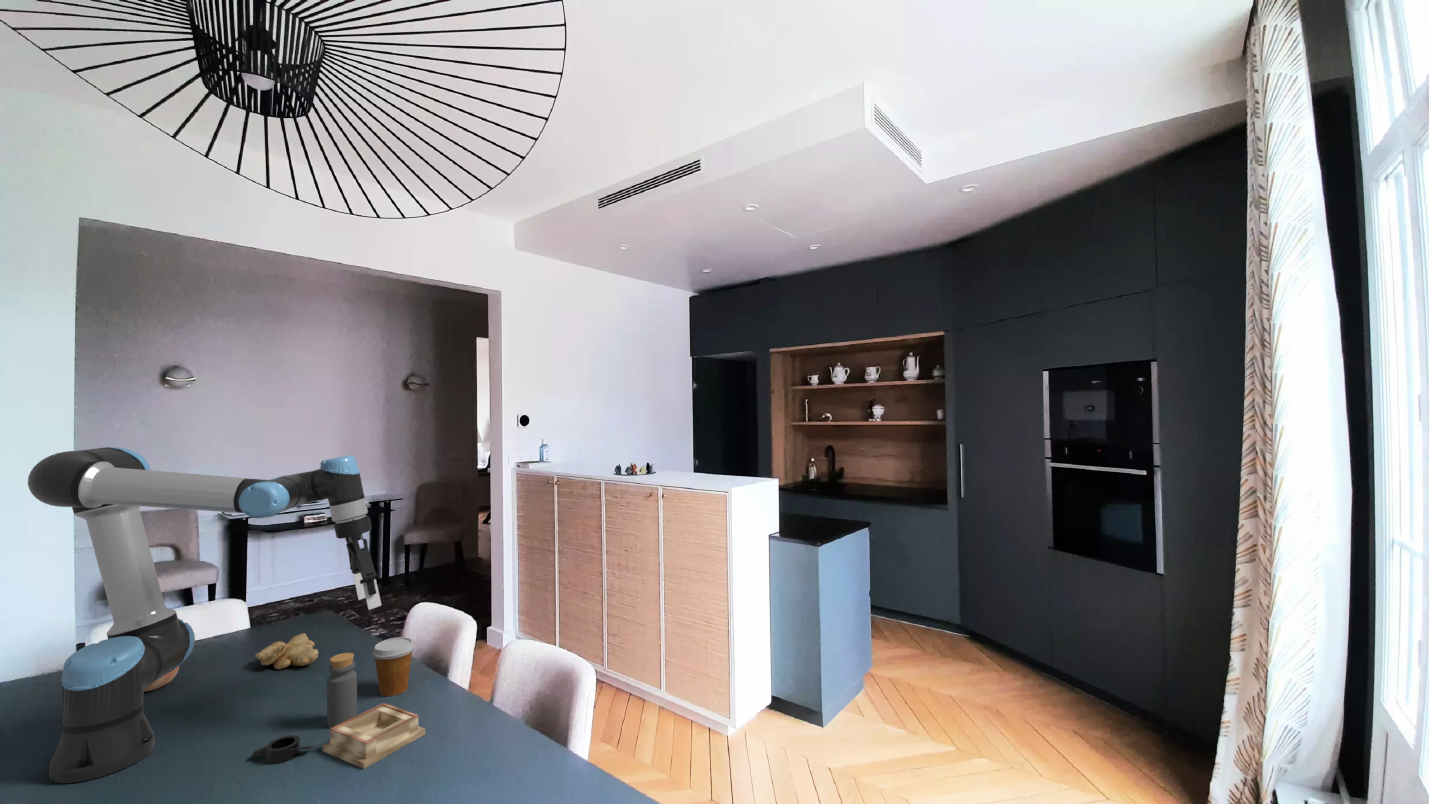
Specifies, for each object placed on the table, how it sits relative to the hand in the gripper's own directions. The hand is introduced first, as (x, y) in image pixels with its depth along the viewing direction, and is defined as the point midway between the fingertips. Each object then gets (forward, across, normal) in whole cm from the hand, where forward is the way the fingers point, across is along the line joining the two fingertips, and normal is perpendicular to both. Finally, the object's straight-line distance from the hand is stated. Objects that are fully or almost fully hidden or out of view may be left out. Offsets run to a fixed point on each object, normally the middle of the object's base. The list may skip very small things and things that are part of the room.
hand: (369, 602), depth 145 cm
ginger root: (+19, +42, +17) cm, 49 cm away
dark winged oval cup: (+23, -11, +22) cm, 34 cm away
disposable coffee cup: (+25, +5, -2) cm, 26 cm away
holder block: (+26, -18, +7) cm, 32 cm away
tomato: (+13, +47, +45) cm, 67 cm away
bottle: (+24, -4, +11) cm, 26 cm away
